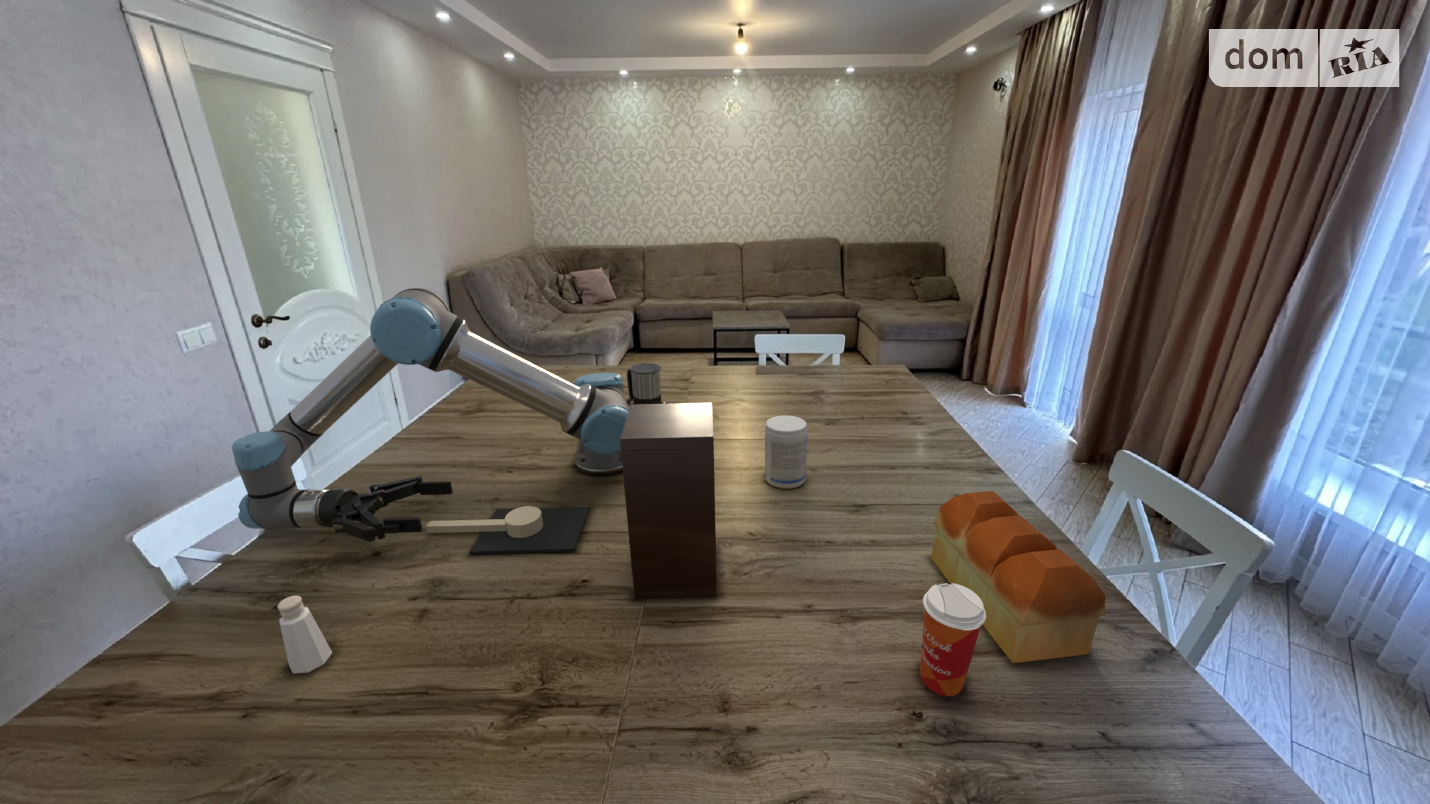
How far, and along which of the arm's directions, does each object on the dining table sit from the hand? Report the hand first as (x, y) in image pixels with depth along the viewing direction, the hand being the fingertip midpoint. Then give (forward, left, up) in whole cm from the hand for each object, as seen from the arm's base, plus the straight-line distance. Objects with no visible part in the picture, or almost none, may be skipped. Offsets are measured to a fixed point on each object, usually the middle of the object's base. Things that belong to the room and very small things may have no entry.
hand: (436, 505), depth 110 cm
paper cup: (+39, +86, -7) cm, 95 cm away
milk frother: (-60, +32, -7) cm, 69 cm away
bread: (+24, +102, -7) cm, 105 cm away
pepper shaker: (+32, -6, -7) cm, 33 cm away
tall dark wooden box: (+14, +48, -7) cm, 51 cm away
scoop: (0, +9, -6) cm, 11 cm away
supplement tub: (-18, +72, -7) cm, 75 cm away
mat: (0, +18, -7) cm, 19 cm away
